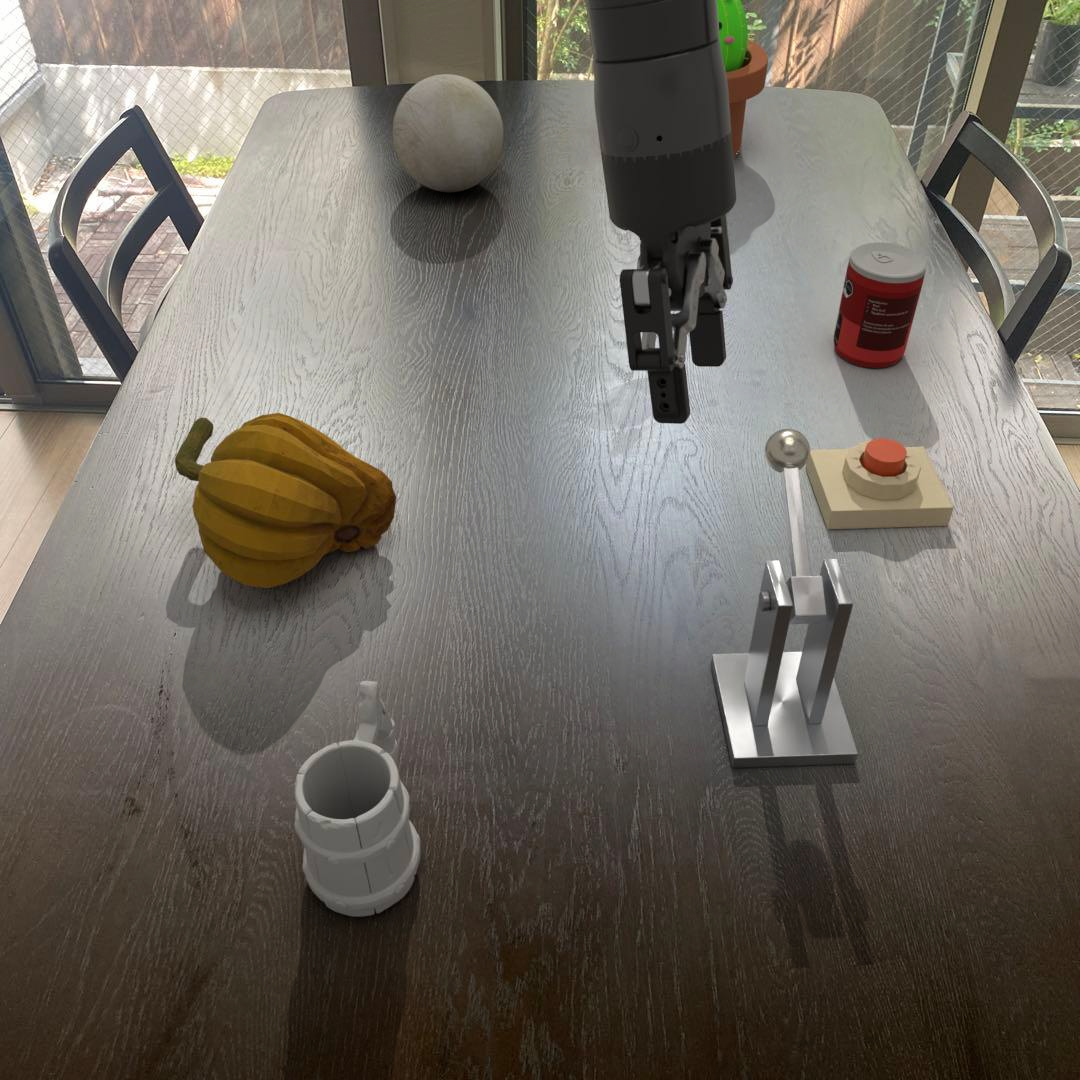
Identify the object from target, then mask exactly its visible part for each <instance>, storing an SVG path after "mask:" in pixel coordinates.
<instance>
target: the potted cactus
mask: <svg viewBox="0 0 1080 1080" xmlns="http://www.w3.org/2000/svg"><path fill="white" fill-rule="evenodd" d="M745 7H748V5H747V4H745V5H743V2H742V1H741V0H717V8H718V21H719V34H720V36H719V37H718V38H719V39H720V44H721V52H722V57H723V61H724V66H725V70H726V76H727V82H728V91H729V105H730V119H731V131H732V144H733V158H734V159H735V158H736V157H737V156H738V155H739V154H740V152H741V148H742V140H743V133H744V132H743V131H744V124H745V115H746V106H747V101H748V100H750V99H752V98H755V97H756V96H758V95H759V94H761V93H762V91H763V90H764V89H765V86H766V79H767V73H768V72H767V71H768V63H769V56H768V53H767V52H766V50H765V49H764V48H763V47H761V45H759V44H758V43H757V42H755V41H753V40H751V39H749V38H751V37H752V35H749V28H748V27H749V25H748V18H747V15H746V12H745ZM738 151H739V152H738ZM736 153H737V154H736Z"/></svg>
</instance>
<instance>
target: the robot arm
mask: <svg viewBox="0 0 1080 1080" xmlns="http://www.w3.org/2000/svg"><path fill="white" fill-rule="evenodd" d="M584 4H585V7H586V8H585V10H586V16H587V24H588V25H587V26H588V32H589V39H590V47H591V54H592V59H593V60H592V65H593V99H594V110H595V120H596V126H597V127H596V128H597V133H598V142H599V148H600V155H601V162H602V171H603V177H604V178H603V179H604V185H605V193H606V199H607V208H608V215H609V220H610V221H611V223H612V224H613V226H615V227H616V228H618V229H620V230H623V231H629V232H631V233H632V234H634V235H636V236H637V237H638V238H639V241H640V243H639V255H638V258H637V264H636V268H626V269H625V268H623V269H621V271H620V274H619V288H620V296H621V297H620V298H621V305H622V312H623V313H622V314H623V323H624V333H625V341H626V349H627V358H628V367H629V369H630V371H633V372H634V371H637V372H639V371H641V372H643V371H644V372H645V371H646V372H647V380H648V387H649V394H650V403H651V404H650V405H651V410H652V418H653V419H654V421H655V422H656V423H659V424H677V425H682V424H685V423H686V422H687V420H688V419H689V417H690V416H691V404H690V396H689V387H688V386H689V385H688V378H687V377H688V376H687V366H686V363H685V362H686V357H687V356H686V353H687V352H686V350H687V341H688V340H687V339H688V335H689V344H690V353H691V361H692V363H693V365H695V366H696V367H705V368H707V367H708V368H709V367H710V368H711V367H712V368H714V367H721V366H722V365H724V363H725V361H726V359H727V348H726V337H725V335H726V334H725V324H724V314H723V313H724V312H723V310H720V309H725V307H726V304H727V302H728V301H727V300H728V296H727V294H726V291H727V290H728V291H729V290H731V289H732V286H733V283H734V277H733V273H732V263H731V251H730V243H729V242H730V241H729V233H728V221H727V214H729V213H730V212H731V211H732V209H733V208H734V207H735V205H736V202H737V186H736V184H737V183H736V173H735V160H734V159H735V158H733V144H732V131H731V119H730V105H729V91H728V82H727V76H726V70H725V66H724V61H723V57H722V52H721V44H720V39H719V38H718V37H719V36H720V34H719V21H718V8H717V0H584ZM671 312H677V313H671ZM641 333H642V334H641ZM657 338H658V347H656V340H657Z"/></svg>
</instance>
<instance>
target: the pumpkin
mask: <svg viewBox="0 0 1080 1080" xmlns="http://www.w3.org/2000/svg"><path fill="white" fill-rule="evenodd" d="M213 432H214V424H213V422H211V421H210V420H209V418H207V417H199V418H198V419H196V420H194V421H193V423H192V425H191V427H190V429H189V431H188V433H187V435H186V437H185V439H184V440H183V442H182V444H181V445H180V448H179V449H178V451H177V453H176V455H175V457H174V465H175V469H176V471H177V473H178V475H180V476H182V477H184V478H187V479H188V480H189V481H193V482H198V483H197V484H196V486H195V490H194V495H193V502H192V503H193V504H192V512H193V517H194V519H195V521H196V524H197V526H198V527H197V528H198V534H199V538H200V542H201V545H202V548H203V552H204V553H205V554H206V556H207V557H208V558H209V559H210V560H211V561H212V563H213V564H214V565H215V566H216V567H217V569H218V570H220V573H222V574H224V575H226V576H227V577H230V578H231V579H233V580H234V581H236V582H238V583H240V584H242V585H243V586H249V587H254V588H255V587H257V588H262V589H263V588H265V589H270V588H275V587H277V586H282V585H286V584H288V583H290V582H291V581H294V580H296V579H298V578H300V577H302V576H303V575H304V574H306V573H308V572H309V571H311V570H312V569H314V567H316V565H318V564H319V562H320V561H321V560H322V558H323V557H324V556H325V555H326V554H328V553H329V554H330V553H333V552H335V551H336V550H337V549H339V550H340V551H341V552H345V553H353V552H357V551H359V550H360V549H361V547H362V548H364V549H365V550H368V549H369V548H370V547H373V546H375V545H377V544H379V542H380V541H381V539H382V535H383V534H385V533H387V532H388V531H389V529H390V527H391V525H392V523H393V521H394V518H395V513H396V512H395V511H396V504H397V495H396V492H395V490H394V488H393V481H392V480H391V479H390V477H388V475H386V474H385V472H384V471H383V470H381V469H379V468H378V467H375V466H374V465H372V464H370V463H368V462H367V461H364V460H362V459H360V458H358V457H357V456H355V455H353V454H352V453H350V452H349V451H348V450H346V449H344V447H342V446H341V445H340V444H339V443H337V442H336V441H335V440H333V439H332V438H330V436H328V435H326V434H325V433H323V432H321V431H320V430H318V429H316V428H315V427H313V426H311V424H308V423H306V422H304V421H303V420H301V419H298V418H295V417H292V415H287V414H285V413H280V412H275V413H267V414H261V415H259V416H257V417H254V418H253V419H250V420H248V421H245V422H244V423H243V424H242V425H241V426H240V428H237V429H235V430H233V431H232V432H230V433H229V434H228V435H226V436H225V437H224V438H223V439H222V440H221V441H220V443H218V444H217V445H216V447H215V449H214V450H213V452H212V454H211V457H210V462H207V463H205V464H204V465H203V464H199V463H197V462H198V459H199V458H200V456H201V453H202V451H203V449H204V446H205V444H206V443H207V441H208V440H209V439H210V438H212V436H213Z"/></svg>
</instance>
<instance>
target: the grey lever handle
mask: <svg viewBox="0 0 1080 1080" xmlns="http://www.w3.org/2000/svg"><path fill="white" fill-rule="evenodd" d="M810 450H811V446H810V442H809V440H808V439H807V438H806V436H805V435H804V434H803V433H802V432H800V431H798V430H796V429H793V428H792V429H791V428H783V429H780V430H777V431H776V432H774V433H772V434H771V435H770V436H769V438H768V439H767V440H766V442H765V446H764V451H763V453H764V458H765V461H766V463H767V465H768V466H769V467H770V468H771V469H772V470H773V471H775V472H777V473H778V474H779V473H780V482H781V491H782V498H783V509H784V516H785V526H786V534H787V535H786V536H787V542H788V543H787V544H788V552H789V553H788V554H789V561H790V571H791V576H790V577H789V578H788V579H787V580H786V583H787V586H788V590H789V593H790V597H791V600H792V603H793V608H792V613H791V618H790V622H789V625H808V624H817V623H819V622H820V621H821V620H822V619H823V618H824V617H825V616H827V609H826V601H825V593H824V585H823V577H822V576H820V575H812V569H811V560H810V551H809V544H808V536H807V527H806V519H805V510H804V500H803V493H802V484H801V476H800V470H802V469H803V468H804V467H806V463H807V462H808V460H809V457H810Z"/></svg>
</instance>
